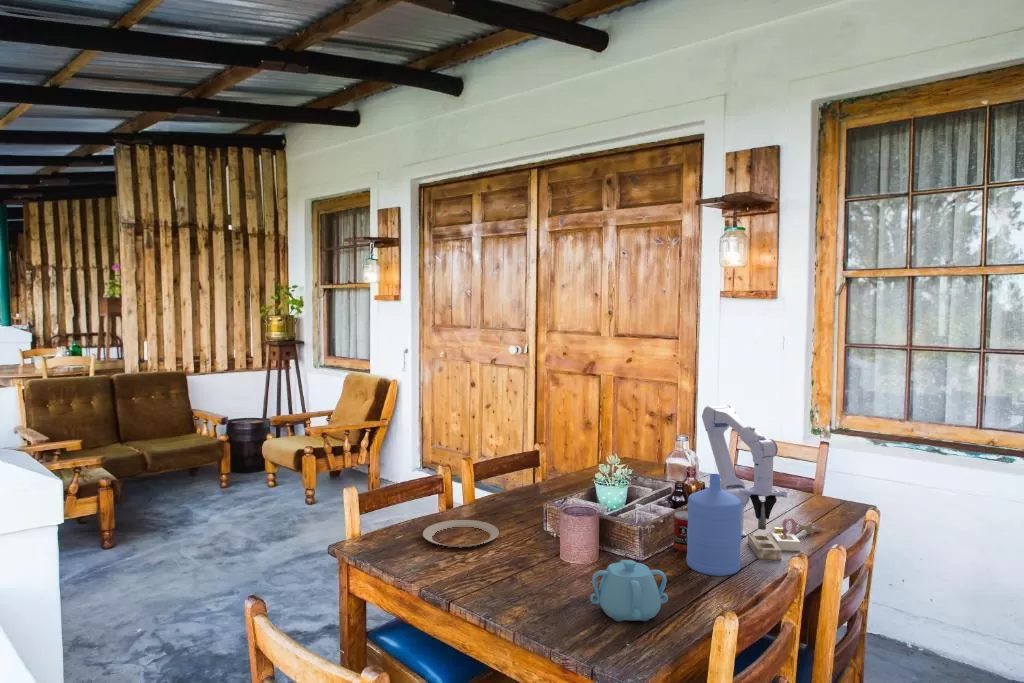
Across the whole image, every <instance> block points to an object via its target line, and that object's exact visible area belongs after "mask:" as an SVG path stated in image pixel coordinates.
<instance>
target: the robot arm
mask: <svg viewBox="0 0 1024 683" xmlns="http://www.w3.org/2000/svg"><path fill="white" fill-rule="evenodd" d="M701 418H702V422H703V426H704V428H705V432H707V437H708V440H709V443H710V448H711V451H712V454H713V458H714V462H715V464H716V468H717V472H718V474H719V475H721V477H720V481H721V483H720V488H721V489H722V490H724V491H726V492H728V493H730V494H732V495H734V496H736V497H738V498H739V499H740V500H741V502H742V504H741V506H742V515H741V537H746V536H747V532H745V530H744V516H745V514H744V513H745V508H746V506H747V505H748V504H749V502H750V501H751V504H752V506H753V509H754V513H755V514H754V515H755V518H756V520H758V519H759V517H760V515H759V508H760V500H761V499H760V497H764V498H765V499H764V500H765V501H767V507H766V520H769V519H770V516H771V512H772V510H773V508H774V506H775V504H776V503H777V497H778V498H788V491H787V490H786V489H777V488H773V481H774V458H775V457H776V456H777V454H778V453H779V452H778V451H779V450H778V445H777V443H776V441H775V439H773V438H767V437H765V436H764V434H761V433H760V432H759V431H758V430H757V428H756V427H755V426H751V425H746V424H745V423H744V422H743V420H742V419H741V418H740V417H739V416H738V415H737V412H736V409H735V408H734V407H732V405H729V404H726V405H715V406H713V405H712V406H710V405H707V406H705V407H704V409H703V410H702V414H701ZM729 428H732V429H733V430H734V431H735V432H737V433H738V434H739V439H740V440H741V441H742V442H743V443H744V444H745V445H746V446H748V447H749V449H750V453H751V455H752V462H753V463H754V464H753V469H754V470H753V487H750V488H747V487H746V485H745V482H744V481H743V480H741V479H740V478H739V477H737V475H736V474H737V473H736V472H735V468H734V465H733V462H732V458H731V454H730V451H729V448H728V445H727V442H726V437H725V433H726V432H725V431H727V430H729Z"/></svg>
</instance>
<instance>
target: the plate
mask: <svg viewBox="0 0 1024 683" xmlns="http://www.w3.org/2000/svg"><path fill="white" fill-rule="evenodd" d="M452 527H474V528H479V529H482V530H484V531H483V532H485V531H486V532H488V533H489V534H490V536H489V538H488V539H487V540H485V541H482V542H480V543H476V544H468V545H466V544H465V545H449V544H444V543H440V542H437V541H435V540H434V539H433V537H432V536H435V533H436V532H437V531H439V532H441V531H440V530H442V531H444V530H443V529H446V530H448V529H447V528H451V529H453V528H452ZM474 528H473V529H474ZM479 529H478V530H479ZM482 530H481V531H482ZM486 532H485V533H486ZM437 533H438V532H437ZM437 533H436V534H437ZM488 533H487V534H488ZM489 534H488V535H489ZM499 535H500V531H499V529H498V528H497V527H496V526H495V525H493V524H491V523H489V522H485V521H480V520H474V519H452V520H445V521H444V520H443V521H440V522H437V523H433V524H432V525H429V526H427V527H426V528H425V529H424V530H423V532H422V537H423V538H424V539H425V540H426V541H428V542H430V543H432V544H435V545H438V544H439V545H438V546H440V545H443V546H442V547H444V546H448V547H447V548H451V547H459V548H458V549H463V548H462V547H468V548H473V547H472V546H474V547H478V546H477V545H479V546H481V545H480V544H482V545H484V544H487V543H488V542H491V541H493V540H494V539H496V538H497V537H499ZM483 543H484V544H483Z"/></svg>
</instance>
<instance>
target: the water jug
mask: <svg viewBox="0 0 1024 683" xmlns="http://www.w3.org/2000/svg"><path fill="white" fill-rule="evenodd" d="M720 477H721V475H719V473H710V474H709V478H710V479H709V487H707V488H704V489H702V490H698V491H696V492H693V493H691V494H690V495H689V496H688V497H687V511H688V528H687V552H686V565H687V566H688V567H689V568H690V569H692V570H693V571H695V572H698V573H700V574H702V575H703V574H704V575H708V576H714V577H715V576H716V577H725V576H731V575H734V574H737V573H738V572H739V571H740V569H741V564H742V562H741V543H742V536H741V515H742V506H741V504H742V502H741V500H740V499H739V498H738V497H736V496H734V495H732V494H730V493H728V492H726V491H724V490H722V489H721V488H720V483H721V479H720Z"/></svg>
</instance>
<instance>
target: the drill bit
mask: <svg viewBox="0 0 1024 683" xmlns="http://www.w3.org/2000/svg"><path fill="white" fill-rule="evenodd" d="M766 507H767V501H765V499H764V500H763V499H760V508H759V515H760V517H759V519H757V529H758V530H763V531H765V530H767V519H766Z"/></svg>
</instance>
